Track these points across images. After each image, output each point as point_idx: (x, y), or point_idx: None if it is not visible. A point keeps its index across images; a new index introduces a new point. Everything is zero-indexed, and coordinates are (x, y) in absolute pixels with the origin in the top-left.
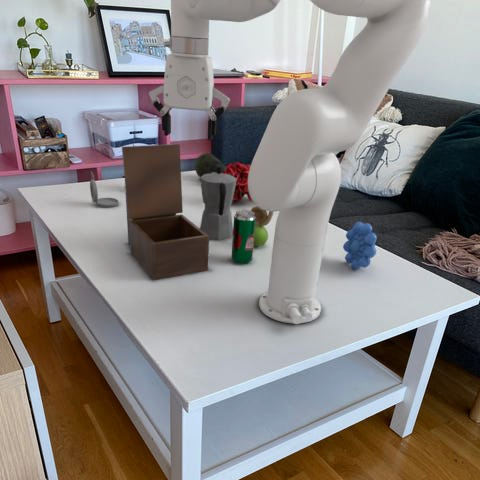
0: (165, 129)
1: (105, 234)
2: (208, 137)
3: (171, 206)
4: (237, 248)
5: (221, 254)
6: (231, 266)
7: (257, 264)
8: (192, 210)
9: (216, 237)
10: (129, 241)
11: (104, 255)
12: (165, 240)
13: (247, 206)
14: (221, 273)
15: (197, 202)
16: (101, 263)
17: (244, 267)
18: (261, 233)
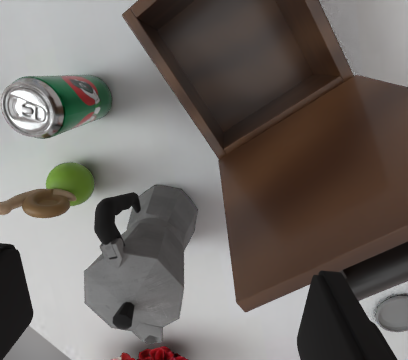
0: (346, 300)
1: None
2: (2, 252)
3: (247, 151)
4: (82, 77)
5: (137, 119)
6: (106, 63)
7: None
8: (228, 310)
9: (158, 187)
10: None
11: (379, 56)
12: (253, 116)
13: (134, 342)
14: (118, 21)
15: (224, 345)
16: (381, 9)
17: (80, 65)
18: (53, 172)
